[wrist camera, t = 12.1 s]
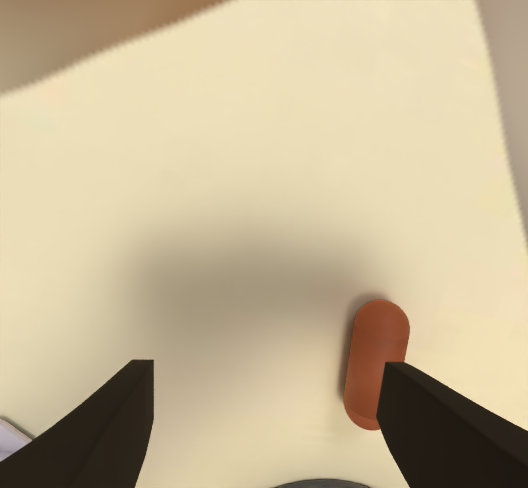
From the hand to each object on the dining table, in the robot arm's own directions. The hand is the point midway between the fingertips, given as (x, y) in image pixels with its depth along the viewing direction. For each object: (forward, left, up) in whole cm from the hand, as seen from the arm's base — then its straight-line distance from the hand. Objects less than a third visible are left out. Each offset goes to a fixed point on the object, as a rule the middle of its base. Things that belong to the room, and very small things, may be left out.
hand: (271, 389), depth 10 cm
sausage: (+2, -8, -8) cm, 12 cm away
